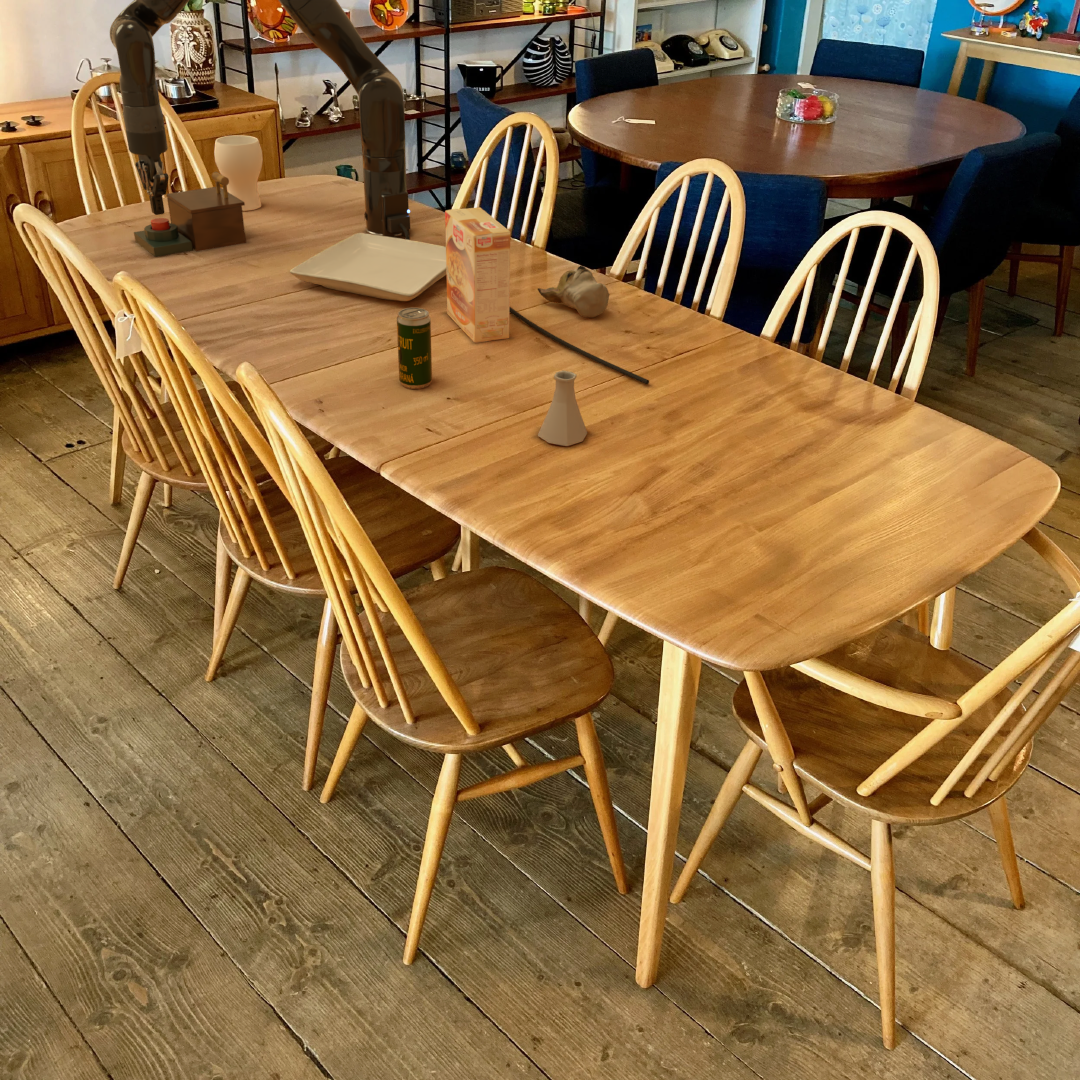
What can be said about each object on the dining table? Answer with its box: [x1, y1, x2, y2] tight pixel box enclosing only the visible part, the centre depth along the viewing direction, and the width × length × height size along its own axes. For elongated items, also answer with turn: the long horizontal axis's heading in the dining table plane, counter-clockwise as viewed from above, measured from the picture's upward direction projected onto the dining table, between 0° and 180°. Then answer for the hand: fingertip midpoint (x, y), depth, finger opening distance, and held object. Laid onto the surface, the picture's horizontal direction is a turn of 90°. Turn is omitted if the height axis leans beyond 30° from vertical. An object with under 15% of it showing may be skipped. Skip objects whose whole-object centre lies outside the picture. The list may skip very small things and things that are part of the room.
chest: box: [166, 196, 247, 252], centre depth 237 cm, size 11×14×8 cm
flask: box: [537, 370, 588, 447], centre depth 164 cm, size 7×7×10 cm
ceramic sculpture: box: [537, 265, 610, 319], centre depth 209 cm, size 11×9×15 cm
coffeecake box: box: [444, 207, 512, 344], centre depth 197 cm, size 15×7×20 cm, turn 23°
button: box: [150, 217, 170, 230], centre depth 232 cm, size 4×4×2 cm
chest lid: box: [166, 171, 245, 214], centre depth 234 cm, size 12×14×5 cm
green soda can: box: [396, 307, 433, 390], centre depth 178 cm, size 5×5×12 cm
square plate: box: [289, 232, 447, 302], centre depth 221 cm, size 27×27×4 cm
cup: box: [213, 134, 264, 212], centre depth 255 cm, size 11×11×15 cm
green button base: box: [133, 222, 194, 258], centre depth 233 cm, size 12×8×4 cm, turn 36°
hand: (158, 213), depth 231 cm, fingers closed
